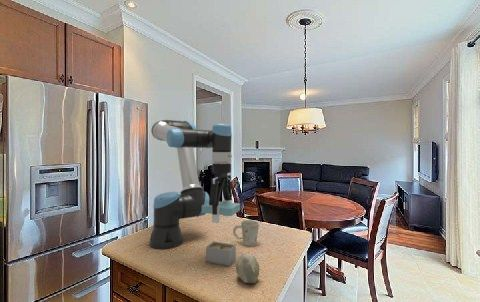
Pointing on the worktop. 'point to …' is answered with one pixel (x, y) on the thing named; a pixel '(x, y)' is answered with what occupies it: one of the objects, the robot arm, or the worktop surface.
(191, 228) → the worktop surface
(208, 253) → the box
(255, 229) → the mug
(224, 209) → the lid
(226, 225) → the worktop surface
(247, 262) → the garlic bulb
